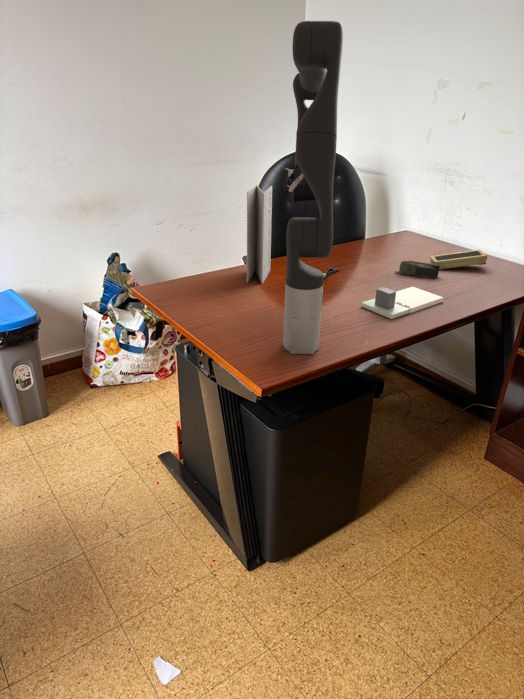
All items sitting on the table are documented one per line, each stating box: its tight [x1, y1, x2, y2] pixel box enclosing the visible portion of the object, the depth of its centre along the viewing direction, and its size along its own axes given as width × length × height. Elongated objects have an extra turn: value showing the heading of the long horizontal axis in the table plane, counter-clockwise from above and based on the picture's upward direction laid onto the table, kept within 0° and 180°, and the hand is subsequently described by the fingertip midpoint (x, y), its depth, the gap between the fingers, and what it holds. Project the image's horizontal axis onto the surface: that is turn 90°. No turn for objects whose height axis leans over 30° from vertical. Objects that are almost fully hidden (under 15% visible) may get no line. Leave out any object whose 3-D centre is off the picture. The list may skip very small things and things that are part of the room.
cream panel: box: [395, 286, 444, 314], centre depth 166 cm, size 16×12×2 cm
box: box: [429, 249, 488, 270], centre depth 198 cm, size 8×22×5 cm, turn 89°
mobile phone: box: [394, 260, 440, 279], centre depth 189 cm, size 5×3×15 cm
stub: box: [360, 286, 410, 320], centre depth 158 cm, size 8×12×6 cm, turn 37°
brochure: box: [246, 184, 273, 284], centre depth 179 cm, size 14×6×30 cm, turn 168°
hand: (305, 204), depth 162 cm, fingers open, 8 cm apart
